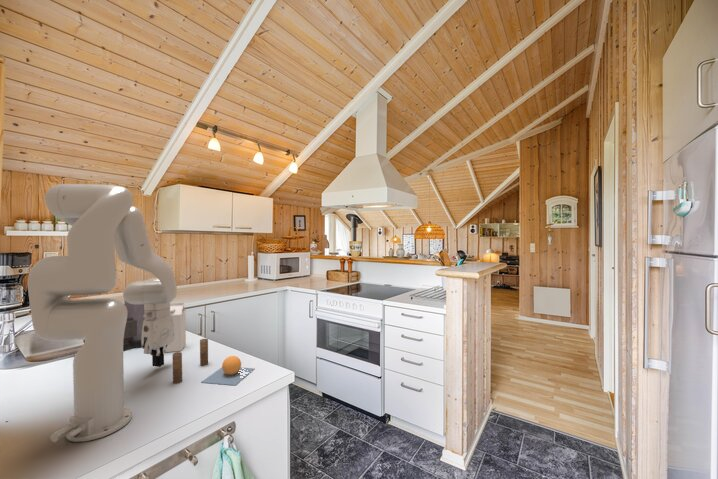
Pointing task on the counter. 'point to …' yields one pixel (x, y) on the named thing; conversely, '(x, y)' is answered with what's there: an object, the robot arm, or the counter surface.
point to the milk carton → (178, 327)
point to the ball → (231, 365)
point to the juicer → (133, 327)
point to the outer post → (203, 352)
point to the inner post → (177, 367)
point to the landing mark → (226, 377)
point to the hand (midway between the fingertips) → (158, 365)
